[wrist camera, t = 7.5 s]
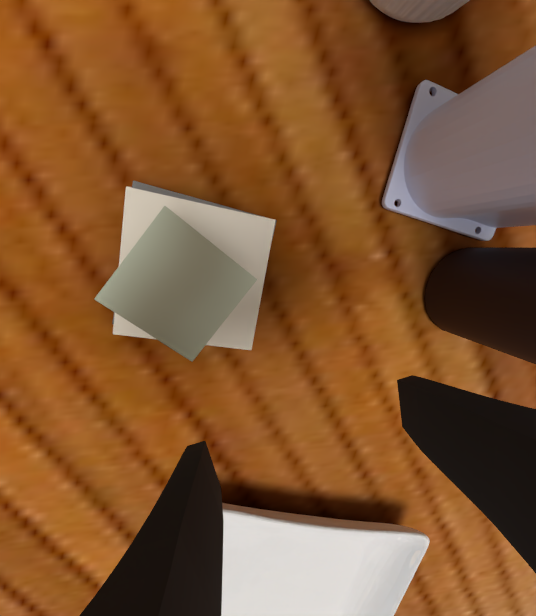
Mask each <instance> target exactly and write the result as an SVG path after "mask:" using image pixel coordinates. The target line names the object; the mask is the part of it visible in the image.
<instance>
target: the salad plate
mask: <svg viewBox="0 0 536 616" xmlns="http://www.w3.org/2000/svg"><path fill="white" fill-rule="evenodd" d="M222 507H223V521H224V523H223V569H222V609H221V616H394V614H395V612H396V610H397V608H398V606H399V604H400V602H401V600H402V598H403V596H404V594H405V592H406V590H407V588H408V586H409V584H410V582H411V580H412V578H413V576H414V574H415V572H416V570H417V568H418V566H419V564H420V562H421V560H422V558H423V556H424V554H425V552H426V550H427V548H428V545H429V538H428V537H427V536H426V535H425V534H424V533H422V532H420V531H418V530H415V529H413V528H409V527H406V526H401V525H395V524H388V523H377V522H364V521H353V520H343V519H334V518H325V517H317V516H309V515H301V514H293V513H285V512H278V511H271V510H264V509H257V508H251V507H244V506H238V505H232V504H227V503H222Z"/></svg>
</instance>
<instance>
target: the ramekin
mask: <svg viewBox="0 0 536 616" xmlns="http://www.w3.org/2000/svg"><path fill="white" fill-rule="evenodd" d="M369 1H370V2H371V3H372V4H373V5H374V6H375V7H376V8H377V9H379V10H380V11H381V12H382V13H384V14H386V15H388V16H389V17H391V18H394V19H396V20H399V21H404V22H411V23H416V22H417V23H422V22H432V21H434V20H439V19H442V18H444V17H445V16H447V15H449V14H451V13H453V12H454V11H456V10H457V9H459V8H460V7H461V6H463V5H464V4H466V3H467V2H468V1H470V0H369Z"/></svg>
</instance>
